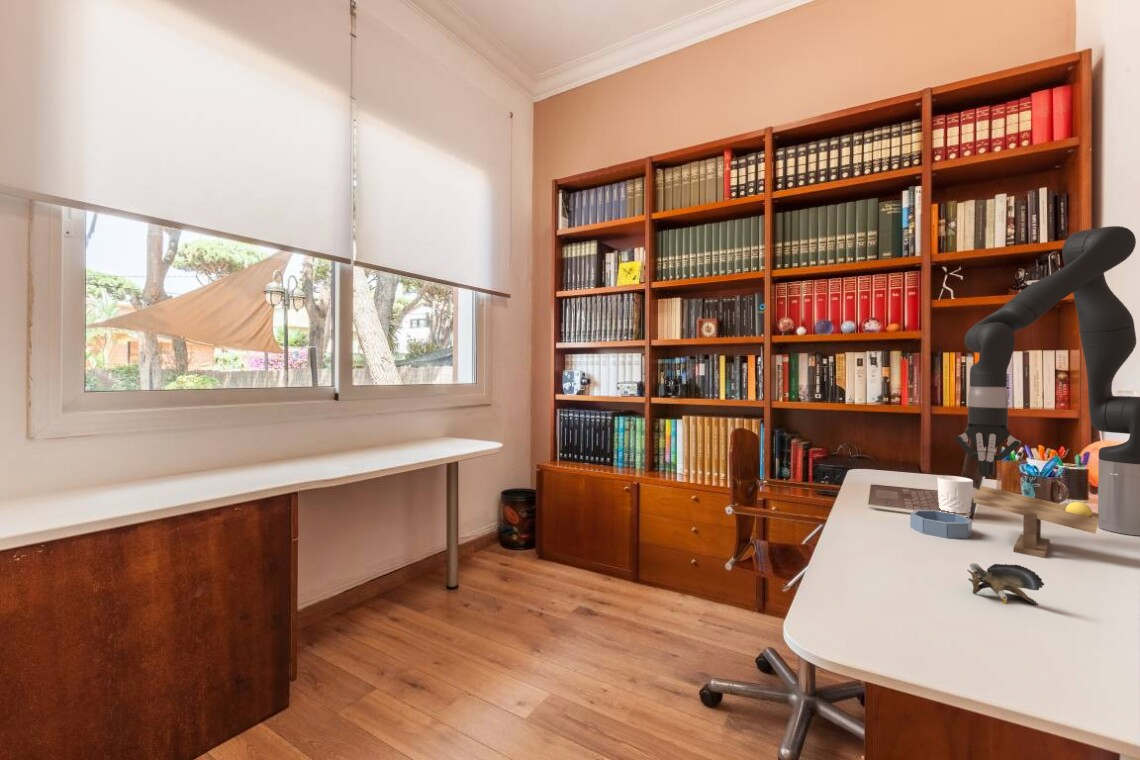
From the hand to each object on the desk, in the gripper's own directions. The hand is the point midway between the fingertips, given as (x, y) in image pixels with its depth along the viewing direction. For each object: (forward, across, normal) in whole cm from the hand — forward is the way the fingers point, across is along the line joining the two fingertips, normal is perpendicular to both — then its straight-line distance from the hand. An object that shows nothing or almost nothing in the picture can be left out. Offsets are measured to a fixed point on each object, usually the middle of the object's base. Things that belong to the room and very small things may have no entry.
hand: (986, 476), depth 124 cm
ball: (+4, +16, -6) cm, 18 cm away
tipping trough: (+6, +9, -3) cm, 11 cm away
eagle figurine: (+14, +8, -44) cm, 47 cm away
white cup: (+14, -8, +14) cm, 22 cm away
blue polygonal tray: (+14, -8, -6) cm, 17 cm away
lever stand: (+14, +9, -6) cm, 18 cm away
